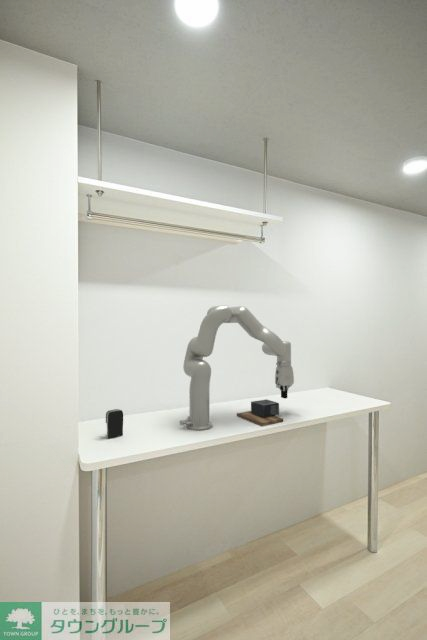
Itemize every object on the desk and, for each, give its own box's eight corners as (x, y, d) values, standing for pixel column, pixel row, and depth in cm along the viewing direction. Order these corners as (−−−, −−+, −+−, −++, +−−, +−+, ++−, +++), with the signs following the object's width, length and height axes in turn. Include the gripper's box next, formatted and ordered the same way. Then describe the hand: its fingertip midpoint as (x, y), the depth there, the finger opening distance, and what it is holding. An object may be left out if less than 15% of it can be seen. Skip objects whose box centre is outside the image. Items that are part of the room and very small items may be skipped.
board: (261, 426, 153) (261, 423, 153) (236, 416, 170) (236, 413, 170) (283, 421, 161) (283, 418, 161) (257, 412, 178) (257, 409, 178)
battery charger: (119, 433, 143) (120, 407, 143) (123, 435, 140) (123, 409, 141) (104, 436, 139) (104, 410, 139) (107, 439, 136) (108, 412, 136)
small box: (266, 411, 175) (250, 413, 170) (266, 399, 176) (250, 400, 171) (279, 415, 166) (262, 417, 161) (279, 402, 166) (262, 404, 161)
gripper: (278, 365, 168) (278, 401, 168) (298, 363, 176) (299, 397, 176) (268, 364, 174) (269, 398, 174) (288, 362, 182) (289, 394, 182)
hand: (284, 397), depth 175 cm, fingers closed
